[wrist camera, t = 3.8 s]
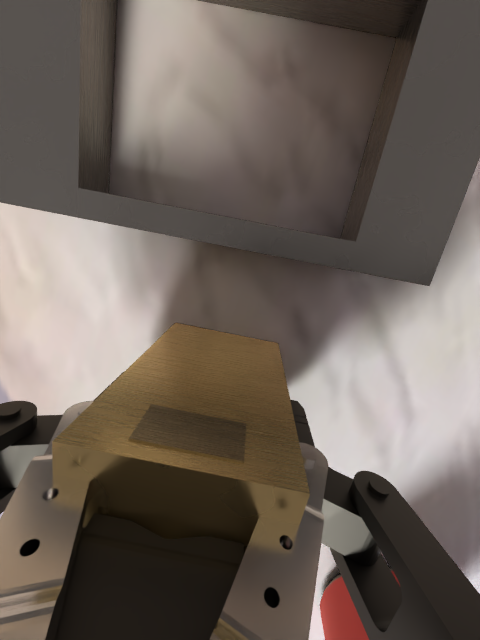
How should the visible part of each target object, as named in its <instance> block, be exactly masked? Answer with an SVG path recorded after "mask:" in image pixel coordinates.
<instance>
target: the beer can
mask: <svg viewBox="0 0 480 640" xmlns="http://www.w3.org/2000/svg"><path fill="white" fill-rule="evenodd" d="M389 569H390V570H391V572H392V574H393V575H394V577H395V579H396V580H397V582H398V584H399V581H398V579H397V577H396V575H395V574H394V572H393V570H392V569H391V568H389ZM399 586H400V584H399ZM320 610H321V618H322V624H323V630H324V636H325V640H369V638H368V636H367V633H366V631H365V629H364V627H363V624H362V622H361V620H360V617H359V615H358V613H357V610H356V608H355V606H354V603H353V601H352V599H351V597H350V594H349V592H348V590H347V587H346V585H345V583H344V580H343V578H342V576H341V574H340V575H338V576H337V577H335V578H334V579H333V580H332V581H331V582H330V584H329V585H328V586H327V587H326V588H325V590H324V593H323V596H322V599H321V602H320Z"/></svg>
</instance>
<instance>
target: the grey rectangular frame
mask: <svg viewBox="0 0 480 640" xmlns="http://www.w3.org/2000/svg"><path fill="white" fill-rule="evenodd" d="M199 1H204V2H210V3H215V4H220V5H226V6H231V7H236V8H242V9H247V10H252V11H258V12H263V13H268V14H274V15H279V16H284V17H290V18H295V19H300V20H306V21H311V22H316V23H322V24H327V25H332V26H338V27H343V28H348V29H354V30H359V31H364V32H370V33H375V34H380V35H386V36H391V37H396V42H395V45H394V49H393V52H392V56H391V60H390V63H389V67H388V70H387V74H386V77H385V81H384V84H383V88H382V92H381V95H380V99H379V102H378V106H377V109H376V113H375V117H374V120H373V124H372V127H371V131H370V134H369V138H368V141H367V145H366V149H365V152H364V156H363V159H362V163H361V166H360V170H359V174H358V177H357V181H356V184H355V188H354V191H353V195H352V198H351V202H350V206H349V209H348V213H347V216H346V220H345V223H344V227H343V231H342V234H341V238H340V239H339V238H334V237H329V236H323V235H318V234H313V233H308V232H303V231H298V230H293V229H287V228H282V227H277V226H272V225H267V224H262V223H257V222H251V221H246V220H241V219H236V218H231V217H226V216H221V215H215V214H210V213H205V212H200V211H195V210H190V209H184V208H179V207H174V206H169V205H164V204H159V203H154V202H148V201H143V200H138V199H133V198H128V197H123V196H118V195H112V194H109V173H110V150H111V126H112V103H113V80H114V57H115V33H116V10H117V0H0V202H1V203H6V204H11V205H16V206H22V207H27V208H32V209H37V210H42V211H47V212H52V213H57V214H63V215H68V216H73V217H78V218H83V219H88V220H93V221H98V222H104V223H109V224H114V225H119V226H124V227H129V228H134V229H139V230H145V231H150V232H155V233H160V234H165V235H170V236H175V237H180V238H186V239H191V240H196V241H201V242H206V243H211V244H216V245H221V246H227V247H232V248H237V249H242V250H247V251H252V252H257V253H262V254H268V255H273V256H278V257H283V258H288V259H293V260H298V261H303V262H309V263H314V264H319V265H324V266H329V267H334V268H339V269H344V270H350V271H355V272H360V273H365V274H370V275H375V276H380V277H385V278H391V279H396V280H401V281H406V282H411V283H416V284H421V285H426V286H430V283H431V281H432V278H433V275H434V273H435V270H436V268H437V265H438V263H439V260H440V258H441V255H442V252H443V250H444V247H445V245H446V242H447V240H448V237H449V235H450V232H451V229H452V227H453V224H454V222H455V219H456V217H457V214H458V211H459V209H460V206H461V204H462V201H463V199H464V196H465V194H466V191H467V188H468V186H469V183H470V181H471V178H472V176H473V173H474V170H475V168H476V165H477V163H478V160H479V158H480V0H199Z"/></svg>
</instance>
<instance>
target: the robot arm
mask: <svg viewBox="0 0 480 640" xmlns="http://www.w3.org/2000/svg"><path fill="white" fill-rule="evenodd" d="M123 373H124V372H123ZM123 373H122V374H123ZM122 374H121V375H122ZM121 375H120V376H121ZM120 376H119V377H120ZM119 377H118V378H119ZM118 378H117V379H118ZM117 379H116V380H117ZM114 381H115V380H114ZM114 381H113V382H114ZM113 382H112V383H113ZM112 383H111V384H112ZM109 386H110V385H109ZM109 386H108V387H109ZM108 387H107V388H108ZM107 388H106V389H107ZM106 389H105V390H106ZM105 390H104V391H105ZM104 391H103V392H104ZM103 392H102V393H103ZM102 393H101V394H102ZM101 394H100V395H101ZM100 395H99V396H100ZM99 396H98V397H99ZM98 397H97V398H98ZM289 397H290V396H289ZM97 398H96V399H97ZM96 399H95V400H96ZM95 400H94V401H95ZM94 401H86V402H81V403H78V404H75V405H73V406H71V407H70V408H68V409H67V410H66V411H65V413H64V414H63V415H44V416H37V407H36V406H35V405H34V404H33V403H31V402H27V401H12V402H6V403H2V404H0V514H1V513H2V512H3V511H4V513H3V515H2V516H1V518H0V640H308V638H309V630H310V623H311V615H312V608H313V600H314V593H315V585H316V578H317V570H318V563H319V555H320V548H321V543H323V544H325V545H326V546H328V547H330V550H331V553H332V555H333V557H334V560H335V562H336V564H337V567H338V569H339V571H340V574H341V576H342V578H343V580H344V583H345V585H346V587H347V590H348V592H349V594H350V597H351V599H352V601H353V603H354V606H355V608H356V610H357V613H358V615H359V617H360V620H361V622H362V624H363V627H364V629H365V631H366V633H367V636H368V638H369V640H480V594H479V593H478V592H477V590H476V589H475V588H474V587H473V585H472V584H471V583H470V581H469V580H468V579H467V578H466V576H465V575H464V574H463V573H462V571H461V570H460V569H459V568H458V566H457V565H456V564H455V563H454V561H453V560H452V559H451V558H450V556H449V555H448V554H447V552H446V551H445V550H444V549H443V547H442V546H441V545H440V544H439V542H438V541H437V540H436V539H435V537H434V536H433V535H432V534H431V532H430V531H429V530H428V528H427V527H426V526H425V525H424V523H423V522H422V521H421V520H420V518H419V517H418V516H417V515H416V513H415V512H414V511H413V510H412V508H411V507H410V506H409V505H408V503H407V502H406V501H405V499H404V498H403V497H402V496H401V494H400V493H399V492H398V491H397V489H396V488H395V487H394V486H393V485H392V484H391V483H390V482H389V481H387V480H386V479H384V478H383V477H381V476H380V475H377V474H375V473H373V472H369V471H360V472H358V473H356V475H355V477H354V479H351V478H349V477H347V476H345V475H343V474H340V473H338V472H336V471H334V470H333V469H331V468H330V467H328V462H327V459H326V458H325V456H324V455H323V454H322V453H321V452H320V451H319V450H318V449H317V448H315V446H314V442H313V439H312V435H311V432H310V428H309V425H308V421H307V418H306V414H305V411H304V408H303V407H302V406H301V405H300V404H299V402H298V401H294V400H290V402H291V406H292V411H293V416H294V421H295V425H296V430H297V435H298V440H299V444H300V449H301V454H302V458H303V463H304V468H305V473H306V477H307V482H308V487H309V491H310V496H309V499H308V501H307V504H306V507H305V510H304V513H303V516H302V519H301V522H300V524H295V523H290V522H285V521H280V520H275V519H270V518H265V517H260V516H259V519H258V521H257V524H256V526H255V529H254V531H253V534H252V536H251V539H250V541H249V544H248V547H247V549H246V552H245V554H244V544H243V543H238V542H234V541H229V540H224V539H219V538H214V537H209V536H202V537H190V538H177V539H165V538H162V537H160V536H159V535H157V534H155V533H153V532H151V531H149V530H148V529H146V528H144V527H142V526H140V525H138V524H137V523H135V522H133V521H131V520H126V519H121V518H116V517H111V516H107V515H102V514H97V513H94V515H93V516H92V518H91V520H90V521H89V523H88V525H87V526H86V527H83V523H84V519H85V514H86V510H87V506H88V503H89V483H90V482H89V481H85V480H80V479H75V478H70V477H65V476H60V475H55V474H53V464H52V441H53V440H54V439H55V438H56V437H57V436H58V435H59V434H60V433H61V432H63V431H64V430H65V429H66V428H67V427H68V426H69V425H70V424H71V423H72V422H73V421H74V420H75V419H76V418H77V417H78V416H79V415H80V414H81V413H82V412H83V411H84V410H85V409H86V408H87V407H88V406H90V405H91V404H92V403H93V402H94ZM381 552H382V553H383V555H384V557H385V558H386V560H387V562H388V563H389V565H390V567H391V568H392V570H393V572H394V574H395V575H396V577H397V579H398V581H399V584H400V586H399V584H398V582H397V580H396V579H395V577H394V575H393V574H392V572H391V570H390V569H389V567H388V565H387V563H386V562H385V560H384V558H383V557H382V555H381Z"/></svg>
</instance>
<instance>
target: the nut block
mask: <svg viewBox="0 0 480 640" xmlns="http://www.w3.org/2000/svg"><path fill="white" fill-rule="evenodd" d="M52 464H53V474H55V475H60V476H65V477H70V478H75V479H80V480H85V481H89V482H90V483H89V503H88V506H87V510H86V514H85V519H84V523H83V527H86V526H87V525H88V523H89V521H90V520H91V518H92V516H93V515H94V513H97V514H102V515H107V516H111V517H116V518H121V519H126V520H131V521H133V522H135V523H137V524H138V525H140V526H142V527H144V528H146V529H148V530H149V531H151V532H153V533H155V534H157V535H159V536H160V537H162V538H165V539H177V538H190V537H202V536H209V537H214V538H219V539H224V540H229V541H234V542H238V543H243V544H244V554H245V552H246V549H247V547H248V544H249V541H250V539H251V536H252V534H253V531H254V529H255V526H256V524H257V521H258V519H259V516H260V517H265V518H270V519H275V520H280V521H285V522H290V523H295V524H300V522H301V519H302V516H303V513H304V510H305V507H306V504H307V501H308V499H309V496H310V491H309V487H308V482H307V477H306V473H305V468H304V463H303V458H302V454H301V449H300V444H299V440H298V435H297V430H296V425H295V421H294V416H293V411H292V406H291V402H290V397H289V392H288V388H287V383H286V378H285V373H284V369H283V364H282V359H281V355H280V350H279V345H278V343H274V342H269V341H264V340H259V339H254V338H249V337H244V336H239V335H234V334H229V333H224V332H219V331H214V330H209V329H204V328H199V327H194V326H189V325H184V324H179V323H175V324H174V325H173V326H172V327H171V328H169V329H168V330H167V331H166V332H165V333H164V334H163V335H162V336H161V337H160V338H159V339H158V340H157V341H156V342H155V343H154V344H153V345H152V346H151V347H150V348H149V349H148V350H147V351H146V352H145V353H144V354H142V355H141V356H140V357H139V358H138V359H137V360H136V361H135V362H134V363H133V364H132V365H131V366H130V367H129V368H128V369H127V370H126V371H125V372H124V373H123V374H122V375H121V376H120V377H119V378H118V379H117V380H115V381H114V382H113V383H112V384H111V385H110V386H109V387H108V388H107V389H106V390H105V391H104V392H103V393H102V394H101V395H100V396H99V397H98V398H97V399H96V400H95V401H94V402H93V403H92V404H91V405H90V406H88V407H87V408H86V409H85V410H84V411H83V412H82V413H81V414H80V415H79V416H78V417H77V418H76V419H75V420H74V421H73V422H72V423H71V424H70V425H69V426H68V427H67V428H66V429H65V430H64V431H63V432H61V433H60V434H59V435H58V436H57V437H56V438H55V439H54V440H53V441H52Z"/></svg>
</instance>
